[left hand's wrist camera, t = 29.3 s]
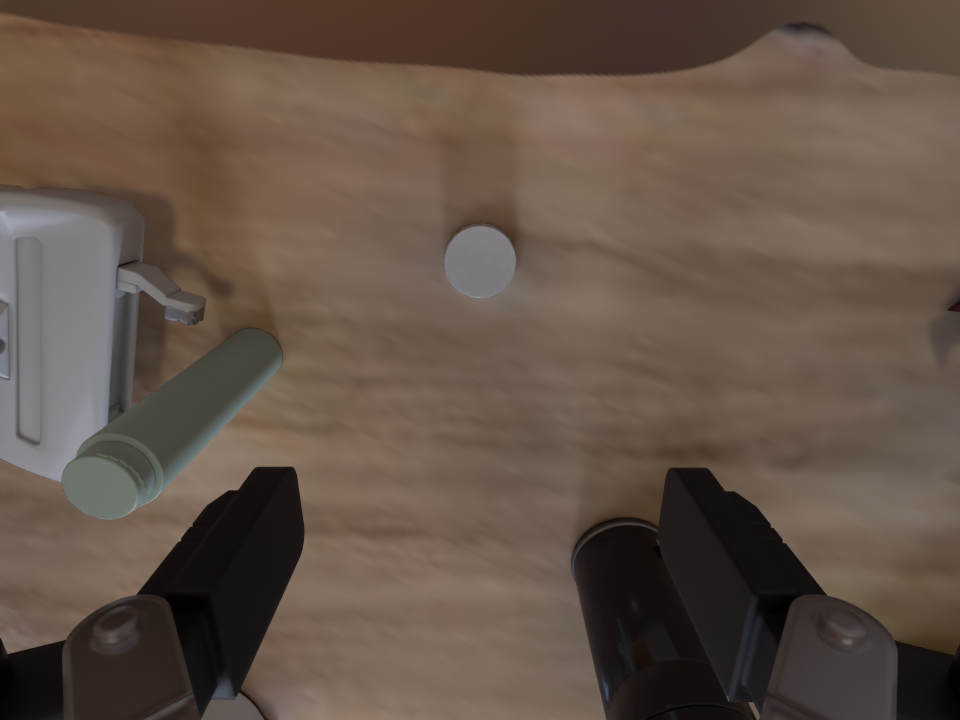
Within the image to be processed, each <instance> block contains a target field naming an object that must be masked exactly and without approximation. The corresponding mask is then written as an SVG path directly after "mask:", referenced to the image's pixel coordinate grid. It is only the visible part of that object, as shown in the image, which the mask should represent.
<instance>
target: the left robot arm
mask: <svg viewBox="0 0 960 720" xmlns="http://www.w3.org/2000/svg"><path fill="white" fill-rule="evenodd" d="M782 540H783V539H782V538H781V537H780V536H779V534H778V533H777V532H776V531H775V529H774V528H771V524H770V523H769V522H768V521H767V519H766V518H765V517H764V516H763V514H762V513H761V512H760V511H759V509H758V508H757V507H756V506H755V505H753V504H752V503H750V502H749V501H747V500H746V499H745V498H743V497H742V496H740V495H739V494H737V493H736V492H734V491H725V490H724V489H723V488H722V486H721V485H720V484H719V482H718V481H717V480H716V478H715V477H714V476H713V474H712V473H711V471H710V470H709V469H707V468H670V469H669V470H668V472H667V474H666V479H665V486H664V493H663V500H662V506H661V513H660V520H659V528H658V527H656V526H654V525H652V524H650V523H648V522H645V521H642V520H637V519H618V520H612V521H609V522H605V523H603V524H600V525H598V526H596V527H595V528H593V529H591V530H590V531H589V532H587V533H586V534H585V535H584V536H583V537H582V538H581V539H580V541H579V542H578V543H577V545H576V547H575V549H574V551H573V554H572V558H571V568H572V573H573V577H574V580H575V583H576V586H577V590H578V595H579V599H580V605H581V609H582V614H583V618H584V622H585V627H586V631H587V636H588V640H589V645H590V649H591V654H592V658H593V662H594V667H595V671H596V676H597V680H598V685H599V689H600V693H601V698H602V702H603V707H604V711H605V716H606V720H757V719H756V717H755V715H754V713H753V711H752V709H751V707H750V705H749V703H748V702H754V704H755V706H756V708H757V710H758V712H759V714H760V718H759V720H960V645H959V647H958V649H957V652H956V654H955V656H954V655H950V654H946V653H941V652H937V651H933V650H929V649H925V648H921V647H917V646H913V645H909V644H905V643H901V642H898V641H894V639H893V638H892V636H891V634H890V633H889V632H888V631H887V629H886V628H885V627H884V626H883V625H882V624H881V623H880V622H879V621H877V620H876V619H875V618H874V617H872V616H871V615H870V614H868V613H867V612H865V611H864V610H862V609H860V608H858V607H857V606H855V605H853V604H850V603H848V602H846V601H843V600H841V599H838V598H834V597H830V596H827V595H826V593H825V592H824V591H823V590H822V588H821V587H820V586H819V585H818V583H817V582H816V581H815V580H814V578H813V577H812V576H811V575H810V573H809V572H808V571H807V570H806V568H805V567H804V566H803V565H802V563H801V562H800V561H799V560H798V558H797V557H796V556H795V555H794V553H793V552H792V551H791V549H790V548H789V547H788V546H787V544H786V543H783V541H782ZM303 544H304V521H303V514H302V507H301V500H300V493H299V486H298V479H297V474H296V471H295V469H294V468H293V467H256V468H254V469H253V471H252V472H251V473H250V475H249V476H248V477H247V479H246V480H245V482H244V483H243V484H242V486H241V487H240V488H239V490H229V491H227V492H226V493H224V494H223V495H221V496H220V497H219V498H217V499H216V500H214V501H213V502H211V503H210V504H208V505H207V506H206V507H205V509H204V510H203V511H202V512H201V514H200V515H199V516H198V518H197V519H196V520H195V521H194V523H193V527H190V528H189V529H188V530H187V531H186V533H185V534H184V535H183V537H182V538H181V542H178V543H177V544H176V545H175V547H174V548H173V549H172V550H171V552H170V553H169V554H168V556H167V557H166V558H165V559H164V561H163V562H162V563H161V564H160V566H159V567H158V568H157V569H156V571H155V572H154V573H153V575H152V576H151V577H150V578H149V580H148V581H147V582H146V583H145V585H144V586H143V587H142V589H141V590H140V591H139V592H138V594H137V595H135V596H130V597H126V598H122V599H119V600H117V601H114V602H112V603H110V604H107V605H105V606H103V607H102V608H100V609H98V610H96V611H95V612H93V613H92V614H90V615H89V616H88V617H86V618H85V619H84V620H83V621H81V622H80V623H79V624H78V625H77V626H76V627H75V628H74V629H73V631H72V632H71V633H70V634H69V636H68V638H67V639H66V640H64V641H60V642H56V643H52V644H47V645H43V646H39V647H35V648H31V649H27V650H23V651H19V652H15V653H11V654H7V652H6V650H5V647H4V645H3V643H2V640H1V638H0V720H201V718H202V716H203V714H204V712H205V710H206V708H207V706H208V704H209V702H210V700H236V697H237V695H238V693H239V691H240V689H241V686H242V684H243V682H244V680H245V678H246V675H247V673H248V671H249V669H250V667H251V664H252V662H253V660H254V658H255V655H256V653H257V651H258V649H259V647H260V644H261V642H262V640H263V638H264V636H265V633H266V631H267V629H268V627H269V625H270V622H271V620H272V618H273V616H274V614H275V611H276V609H277V607H278V605H279V602H280V600H281V598H282V596H283V594H284V591H285V589H286V587H287V585H288V583H289V580H290V578H291V576H292V574H293V572H294V569H295V567H296V565H297V563H298V560H299V558H300V556H301V553H302V549H303Z"/></svg>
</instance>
